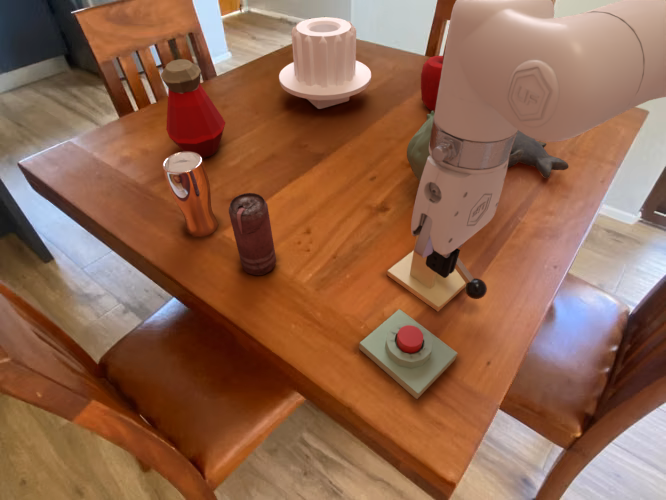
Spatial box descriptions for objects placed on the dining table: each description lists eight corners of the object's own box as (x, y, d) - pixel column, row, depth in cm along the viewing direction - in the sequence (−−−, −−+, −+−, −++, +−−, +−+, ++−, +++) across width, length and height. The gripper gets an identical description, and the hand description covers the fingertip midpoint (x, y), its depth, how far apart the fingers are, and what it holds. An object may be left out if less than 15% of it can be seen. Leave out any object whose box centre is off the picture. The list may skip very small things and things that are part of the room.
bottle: (231, 162, 100) (213, 77, 86) (171, 170, 98) (142, 84, 84) (228, 128, 111) (212, 48, 97) (175, 134, 109) (150, 53, 95)
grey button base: (455, 359, 63) (460, 346, 61) (416, 399, 59) (419, 387, 56) (398, 315, 69) (400, 301, 66) (359, 349, 65) (359, 335, 62)
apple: (461, 114, 114) (472, 62, 105) (423, 117, 113) (431, 65, 104) (448, 96, 122) (457, 46, 112) (412, 99, 121) (419, 48, 111)
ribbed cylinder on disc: (306, 129, 110) (301, 53, 97) (267, 91, 126) (258, 21, 112) (387, 105, 118) (393, 31, 105) (341, 72, 134) (341, 5, 120)
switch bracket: (470, 282, 73) (486, 231, 65) (437, 312, 69) (451, 261, 61) (419, 249, 79) (428, 198, 71) (386, 275, 75) (392, 224, 67)
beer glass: (199, 211, 88) (179, 147, 77) (227, 221, 86) (211, 156, 75) (176, 232, 83) (152, 167, 73) (205, 243, 81) (184, 177, 71)
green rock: (390, 178, 95) (398, 90, 80) (464, 159, 99) (484, 73, 85) (426, 222, 84) (443, 130, 70) (506, 199, 89) (537, 108, 75)
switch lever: (481, 293, 69) (495, 289, 66) (469, 305, 67) (483, 300, 64) (432, 228, 69) (443, 220, 66) (419, 237, 68) (431, 230, 65)
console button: (426, 342, 62) (428, 336, 60) (410, 358, 60) (412, 351, 59) (407, 327, 64) (408, 320, 62) (391, 342, 62) (392, 335, 61)
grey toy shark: (495, 106, 106) (445, 127, 103) (578, 153, 90) (522, 180, 87) (492, 124, 110) (444, 145, 106) (572, 173, 94) (517, 199, 90)
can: (237, 275, 75) (221, 214, 65) (248, 250, 80) (234, 189, 70) (270, 279, 75) (259, 218, 65) (280, 253, 79) (271, 192, 69)
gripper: (455, 190, 35) (424, 320, 48) (548, 125, 42) (499, 255, 55) (387, 152, 39) (375, 283, 52) (483, 99, 46) (451, 226, 59)
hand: (439, 268), depth 54 cm, fingers closed
